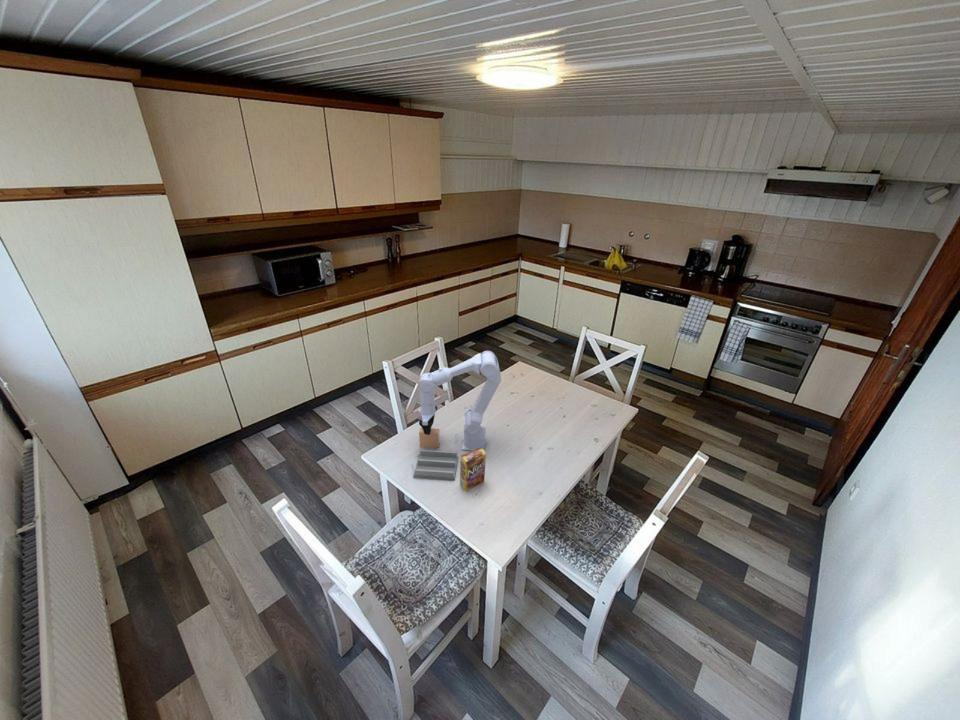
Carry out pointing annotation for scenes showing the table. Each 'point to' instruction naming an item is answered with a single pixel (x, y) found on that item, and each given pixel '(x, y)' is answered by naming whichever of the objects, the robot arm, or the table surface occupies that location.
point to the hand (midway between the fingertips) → (429, 428)
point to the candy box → (472, 468)
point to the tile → (430, 438)
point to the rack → (436, 465)
